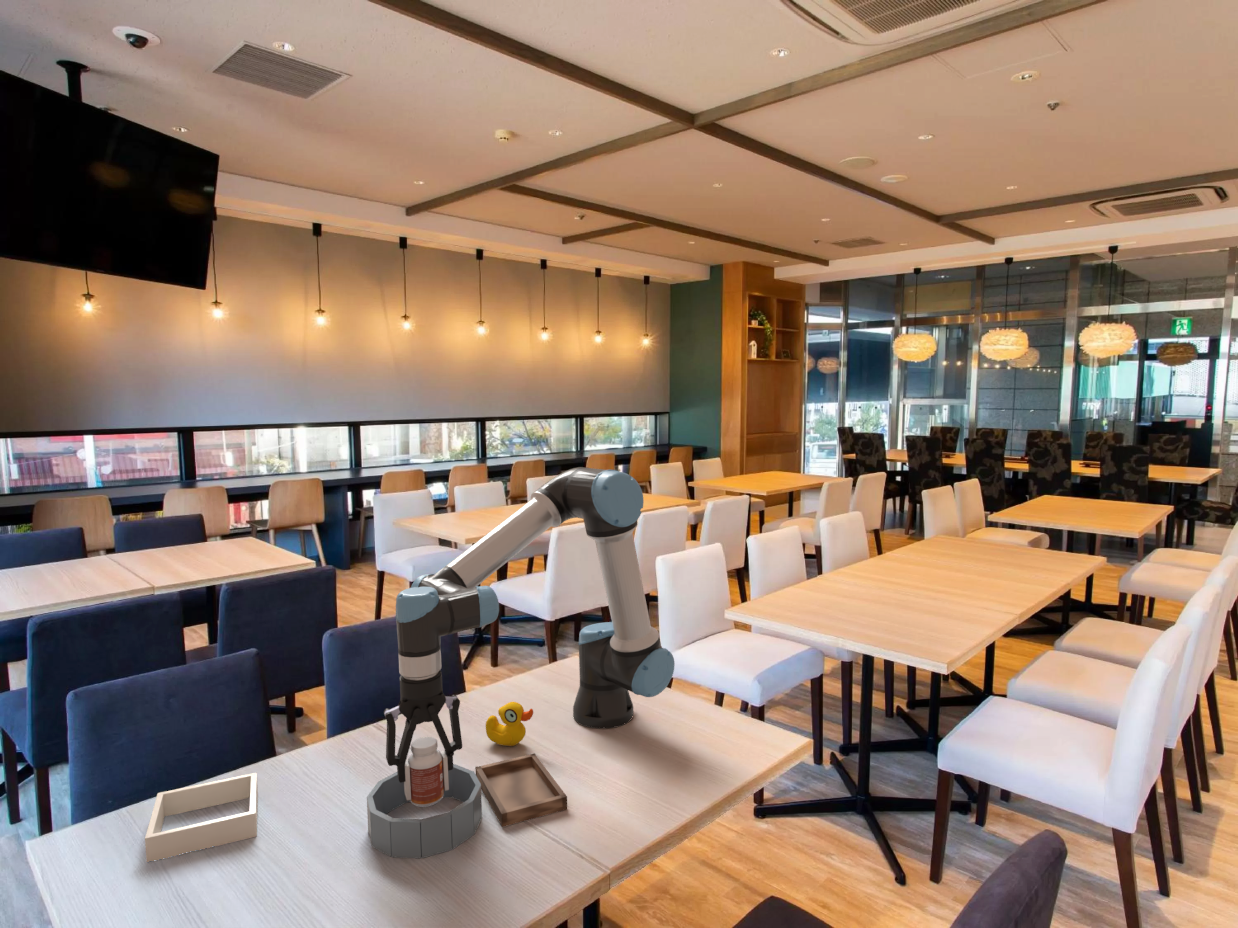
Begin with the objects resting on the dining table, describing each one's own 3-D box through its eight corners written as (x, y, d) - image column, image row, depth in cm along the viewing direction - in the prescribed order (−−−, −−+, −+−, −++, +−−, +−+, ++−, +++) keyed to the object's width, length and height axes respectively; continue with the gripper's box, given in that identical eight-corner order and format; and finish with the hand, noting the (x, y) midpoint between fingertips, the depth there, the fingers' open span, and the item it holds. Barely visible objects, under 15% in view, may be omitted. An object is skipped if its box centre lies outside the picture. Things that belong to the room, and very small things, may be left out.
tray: (534, 764, 156) (534, 753, 156) (567, 809, 139) (567, 796, 139) (475, 778, 151) (475, 767, 150) (502, 826, 134) (501, 813, 133)
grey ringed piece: (465, 785, 148) (464, 754, 148) (492, 837, 130) (491, 803, 130) (363, 810, 140) (362, 778, 139) (377, 870, 122) (375, 833, 121)
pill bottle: (448, 800, 134) (446, 744, 133) (416, 812, 131) (413, 753, 129) (437, 785, 139) (434, 731, 138) (405, 796, 136) (402, 740, 135)
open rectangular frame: (258, 793, 146) (256, 772, 145) (256, 836, 132) (255, 812, 131) (159, 815, 139) (157, 792, 138) (146, 862, 124) (144, 838, 124)
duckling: (537, 740, 167) (536, 699, 166) (530, 752, 162) (529, 709, 161) (491, 737, 169) (489, 696, 168) (482, 747, 164) (481, 705, 163)
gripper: (467, 656, 140) (472, 769, 142) (363, 675, 132) (370, 794, 134) (477, 669, 133) (482, 787, 135) (368, 690, 125) (375, 815, 127)
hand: (426, 791), depth 135 cm, fingers closed on pill bottle, 6 cm apart
